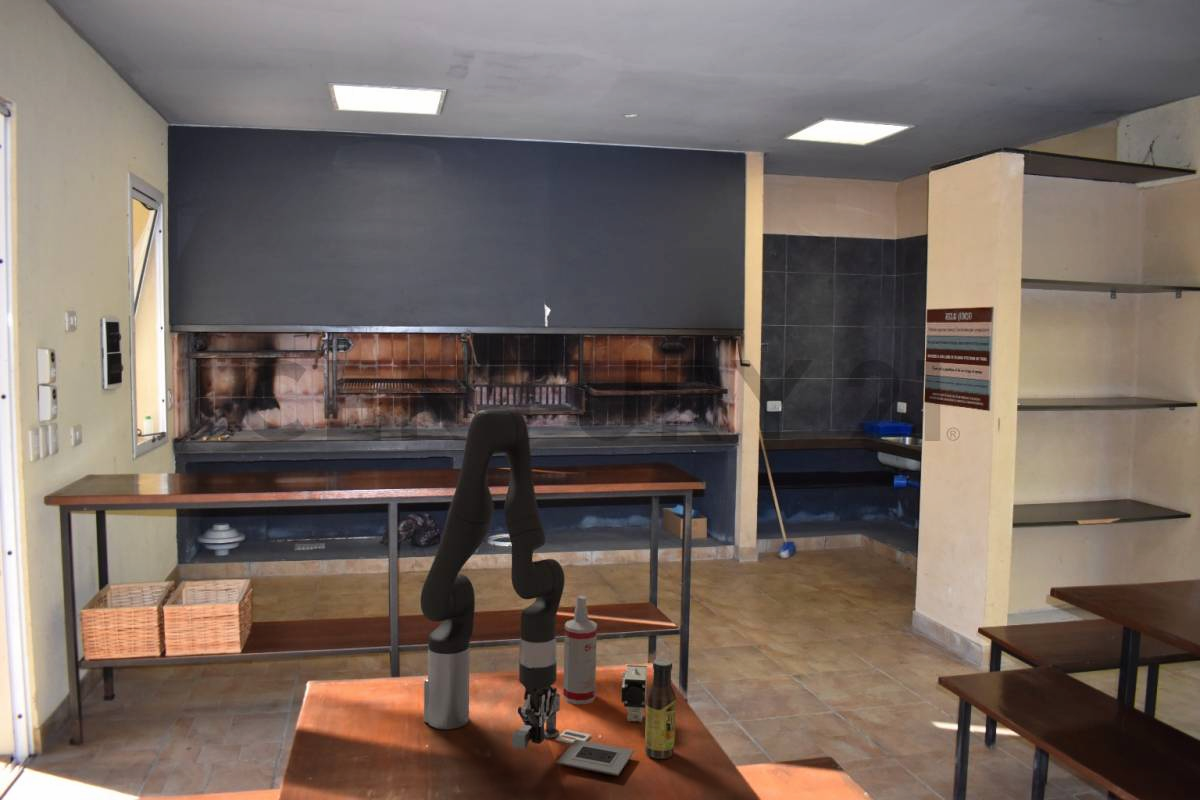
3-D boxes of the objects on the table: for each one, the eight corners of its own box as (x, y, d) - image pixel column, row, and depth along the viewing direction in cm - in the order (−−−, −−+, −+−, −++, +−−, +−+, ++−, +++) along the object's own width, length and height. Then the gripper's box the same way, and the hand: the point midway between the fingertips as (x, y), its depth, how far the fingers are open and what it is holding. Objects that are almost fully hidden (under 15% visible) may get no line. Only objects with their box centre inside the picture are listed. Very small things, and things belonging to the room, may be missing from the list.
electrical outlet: (633, 759, 188) (634, 748, 187) (618, 783, 178) (618, 772, 178) (575, 748, 192) (575, 738, 192) (556, 771, 182) (557, 760, 182)
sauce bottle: (670, 763, 186) (673, 669, 184) (641, 758, 188) (643, 665, 186) (677, 749, 192) (680, 658, 190) (648, 744, 194) (651, 655, 192)
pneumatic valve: (645, 708, 212) (647, 659, 211) (644, 730, 200) (645, 678, 199) (622, 707, 212) (623, 658, 211) (619, 729, 201) (620, 677, 200)
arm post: (539, 737, 196) (540, 712, 196) (547, 730, 199) (547, 705, 199) (554, 740, 195) (554, 715, 194) (561, 733, 198) (562, 708, 197)
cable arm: (546, 704, 199) (546, 691, 198) (561, 706, 198) (562, 693, 197) (510, 747, 178) (510, 733, 178) (527, 750, 177) (527, 735, 177)
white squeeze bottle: (567, 689, 222) (569, 591, 220) (596, 692, 221) (599, 592, 218) (561, 703, 214) (563, 600, 212) (592, 705, 213) (594, 602, 211)
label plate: (555, 740, 195) (556, 738, 195) (566, 730, 199) (566, 728, 199) (580, 746, 192) (580, 743, 192) (590, 736, 197) (590, 734, 197)
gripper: (536, 645, 188) (536, 725, 189) (505, 667, 176) (505, 752, 177) (569, 650, 185) (568, 732, 186) (539, 673, 173) (538, 759, 174)
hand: (537, 741), depth 182 cm, fingers closed
